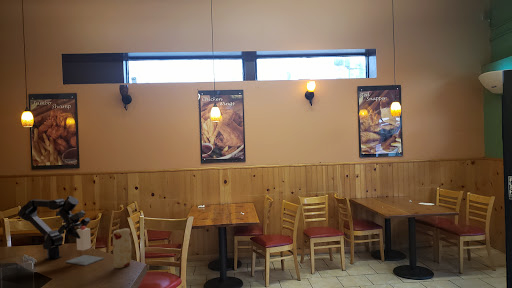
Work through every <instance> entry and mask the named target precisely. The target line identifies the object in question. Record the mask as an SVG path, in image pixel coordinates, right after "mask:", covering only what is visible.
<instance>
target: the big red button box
mask: <svg viewBox="0 0 512 288" xmlns="http://www.w3.org/2000/svg"><path fill="white" fill-rule="evenodd" d="M75 230H76V232H77V233H78V234H79V236H80V239H78V238H76V250H77V251H86V250H88V249H91V248H92V242H91V241H92V240H91V228H89V227H87V226H86V227H85V226H81V229H79V228H78V229H75Z"/></svg>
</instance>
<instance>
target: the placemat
mask: <svg viewBox="0 0 512 288" xmlns="http://www.w3.org/2000/svg"><path fill="white" fill-rule="evenodd" d="M101 260H105V258H104V257H100V256H95V255H94V256H93V255H87V254H84V255H81V256H78V257H74V258H71V259H69V260H66V261H65V263H67V264H73V265H79V266H85V267H86V266H89V265H92V264H95V263H97V262H99V261H101Z"/></svg>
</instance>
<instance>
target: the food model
mask: <svg viewBox="0 0 512 288" xmlns="http://www.w3.org/2000/svg"><path fill="white" fill-rule="evenodd" d="M112 253H113V254H112V255H113V267H114V268H116V269H121V268H125V267H128V266H130V265H131V262H132V238H131V230H130V228H121V229H116V230H114V231H113V233H112Z"/></svg>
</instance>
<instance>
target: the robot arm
mask: <svg viewBox="0 0 512 288" xmlns="http://www.w3.org/2000/svg"><path fill="white" fill-rule="evenodd" d="M79 203H80V202H79V200H78V199H77V198H76V197H74V196H71V195H69V196H67V197H66V200H65V199H64V198H56V199H38V198H34V199H30V200H28V202H27V203H26V204H24V205H22V206H21V208H20V209H19V210H18V213H17V214H18V217H19V218H21V219H22V220H23V221H25V222H29V223H30V224H31V225H32V226H33V227H34V228H35V229H36V230H38V231H39V232H40V234H41V235H43V237H44V243H43V245H42V248H43V250H46V252H47V253H46V255H47V257H44V259H45V260H48V261H49V260H50V261H53V260H56V259H59V258H62V255H60V254H61V253H60V247H61V246H63V243H64V236H63V235H64V234H65V235H68V236H71V237H74V238H76V239H77V238H78V239H80V236H79V234H78V233H77V232H76V230H77V229H76V228H77V227H78V229H81V226H85V227H86V228H87V226H88V225H89V224H90V222H91V219H90V218H89V217H85V215H86V212H85V210H80V211H77V212H75V213H72V211H74V210H75V208H76V207H77V206H78V205H79ZM39 208H48V210H52V211H56V214H55V217H56V218H57V217H60V218H61V220H62V224H61V225H60V227H59V228H58V229H55V230H52V229H51V228H50V226H48V224H46V223H45V222H44V221H43V220H42V219H41V218H40V217H39V215H38V212H37V211H38V209H39ZM57 210H58V211H57Z"/></svg>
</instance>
